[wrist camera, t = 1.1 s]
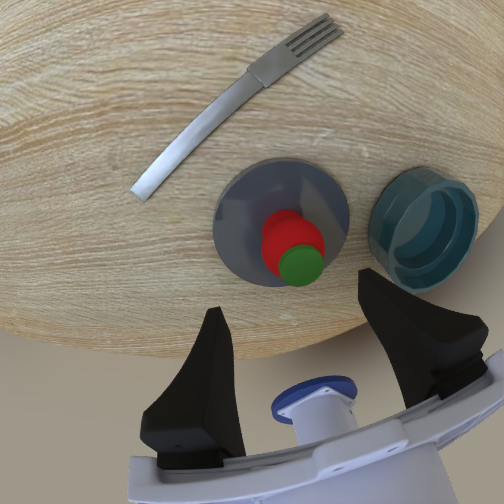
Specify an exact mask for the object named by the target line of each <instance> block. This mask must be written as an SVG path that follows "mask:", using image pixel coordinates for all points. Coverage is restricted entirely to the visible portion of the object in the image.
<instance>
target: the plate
mask: <svg viewBox="0 0 504 504" xmlns="http://www.w3.org/2000/svg"><path fill="white" fill-rule="evenodd" d="M281 210H292V211H295V212H297V213H299V214H300V215H301V216H302V217H303V218H304V219H306V220H308V221H310V222H311V223H313V224H314V225H315V226H316V227H317V228H318V230H319V231H320V233H321V234H322V236H323V239H324V244H325V254H324V258H323V260H324V267H323V270H324V269H325V268H326V267H327V266H328V265H329V264H330V263H331V262H332V261H333V260H334V259H335V257H336V256H337V254H338V253H339V251H340V250H341V248H342V246H343V244H344V242H345V239H346V236H347V232H348V227H349V210H348V205H347V201H346V198H345V196H344V194H343V191H342V190H341V188H340V187H339V185H338V184H337V183H336V182H335V180H334V179H333V178H332V177H331V176H329V175H328V174H327V173H326V172H324V171H323V170H322V169H320V168H319V167H317V166H315V165H313V164H311V163H309V162H306V161H303V160H299V159H294V158H275V159H269V160H265V161H262V162H259V163H256V164H254V165H252V166H250V167H248V168H246V169H245V170H243V171H242V172H240V173H239V174H238V175H237V176H235V177H234V178H233V179H232V180H231V181H230V183H229V184H228V185H227V186H226V188H225V189H224V190H223V192H222V194H221V196H220V197H219V199H218V202H217V205H216V207H215V211H214V216H213V238H214V243H215V247H216V249H217V252H218V254H219V256H220V258H221V259H222V261H223V262H224V264H225V265H226V266H227V267H228V268H229V269H230V270H231V271H232V272H233V273H234V274H236V275H237V276H238V277H240V278H242V279H244V280H246V281H248V282H250V283H253V284H256V285H261V286H267V287H283V286H289V284H287V283H285V282H284V281H283V279H282V278H279V277H277V276H276V275H274V274H273V273H272V272H271V271H270V270H269V269H268V268H267V266H266V265H265V263H264V260H263V257H262V252H261V246H262V240H263V236H262V229H263V225H264V223H265V221H266V220H267V219H268V218H269V217H270V216H271V215H272V214H274V213H275V212H278V211H281Z"/></svg>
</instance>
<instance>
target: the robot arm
mask: <svg viewBox="0 0 504 504" xmlns="http://www.w3.org/2000/svg"><path fill="white" fill-rule="evenodd" d="M358 301H359V304H360V306H361V308H362V311H363V313H364V315H365V317H366V319H367V320H368V322H369V324H370V325H371V327H372V329H373V330H374V332H375V333H376V335H377V337H378V339H379V340H380V342H381V344H382V345H383V347H384V349H385V351H386V353H387V355H388V357H389V360H390V362H391V364H392V367H393V370H394V372H395V375H396V378H397V380H398V383H399V386H400V389H401V392H402V395H403V399H404V402H405V406H406V410H404V411H402V412H400V413H397V414H395V415H393V416H390V417H388V418H385V419H383V420H380V421H378V422H375V423H373V424H370V425H368V426H365V427H362V428H359V426H358V424H357V421H356V418H355V415H354V413H353V410H352V407H351V406H353V405H355V404H356V401H355V400H353V399H352V398H350V397H348V396H346V395H344V394H342V393H340V392H338V391H337V390H335V389H333V388H331V387H329V386H327V385H325V386H323V387H321V388H319V389H317V390H316V391H314V392H312V393H310V394H308V395H307V396H305V397H303V398H301V399H299V400H297V401H295V402H293V403H292V404H290V405H288V406H286V407H284V408H282V409H280V410H278V411H277V413H278V414H279V415H281V416H284V417H287V418H290V419H292V421H293V426H294V430H295V434H296V439H297V443H298V447H293V448H289V449H284V450H279V451H274V452H268V453H263V454H257V455H251V456H246V452H245V448H244V443H243V439H242V433H241V428H240V423H239V417H238V411H237V405H236V398H235V388H234V354H233V345H232V338H231V333H230V330H229V328H228V325H227V323H226V320H225V318H224V315H223V313H222V310H221V308H220V306H219V307H215V308H210V309H208V310H207V312H206V315H205V318H204V321H203V324H202V326H201V329H200V332H199V334H198V336H197V339H196V341H195V343H194V345H193V347H192V349H191V351H190V354H189V356H188V357H187V359H186V361H185V363H184V364H183V366H182V368H181V369H180V371H179V373H178V374H177V375H176V377H175V378H174V380H173V381H172V382H171V384H170V385H169V386H168V387H167V389H166V390H165V391H164V392H163V393H162V395H161V396H160V397H159V398H158V399H157V400H156V401H155V402H154V403H153V404H152V405H151V406H150V407H149V408H148V409H147V410H145V411H144V413H143V417H142V421H141V431H140V439H141V440H142V442H144V443H145V444H146V445H147V446H149V447H150V448H152V449H153V450H155V451H156V452H157V458H155V457H147V456H131V457H130V462H129V475H128V493H127V500H128V501H130V502H133V503H136V504H459V503H458V501H457V498H456V495H455V492H454V490H453V487H452V485H451V482H450V480H449V477H448V475H447V472H446V470H445V467H444V465H443V462H442V460H441V458H440V456H439V453H438V451H439V450H441V449H443V448H444V447H446V446H447V445H449V444H450V443H452V442H454V441H455V440H457V439H458V438H460V437H461V436H463V435H464V434H466V433H467V432H468V431H470V430H471V429H473V428H474V427H476V426H477V425H478V424H480V423H481V422H482V421H484V420H485V419H486V418H488V417H489V416H490V415H491V414H493V413H494V412H495V411H496V410H498V409H499V408H500V407H501V406H503V405H504V351H503V350H502V349H500V350H499V351H497V352H496V353H494V354H493V355H491V356H490V357H489V358H488V359H486V360H485V362H484V361H483V359H482V357H483V353H482V352H481V351H480V349H481V348H482V346H483V344H484V342H485V340H486V338H487V336H488V331H489V329H488V327H487V326H486V324H485V323H484V322H483V321H482V320H481V318H480V317H479V316H474V315H468V314H463V313H459V312H455V311H451V310H448V309H445V308H442V307H439V306H436V305H433V304H431V303H429V302H427V301H424V300H422V299H420V298H418V297H416V296H414V295H412V294H410V293H409V292H407V291H405V290H403V289H402V288H400V287H398V286H397V285H395V284H394V283H392V282H390V281H389V280H387V279H386V278H384V277H383V276H381V275H380V274H378V273H377V272H375V271H374V270H372V269H370V268H366V269H363V270H359V274H358Z"/></svg>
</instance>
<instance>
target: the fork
mask: <svg viewBox="0 0 504 504" xmlns="http://www.w3.org/2000/svg"><path fill="white" fill-rule="evenodd" d="M328 16H329V14H328V13H325V14H323V15H322V16H320V17H318V18H317V19H315V20H314V21H312V22H311V23H309V24H307V25H306V26H304V27H303V28H301V29H300V30H298V31H297V32H295V33H294V34H292V35H291V36H289V37H288V38H287V39H285V40H284V41H282V42H281V43H280V44H278V45H277V46H275V47H274V48H273V49H271V50H270V51H269V52H267V53H266V54H265V55H263V56H262V57H261V58H259V59H258V60H257V61H256V62H254V63H253V64H252V65H250V66H249V67H248V68H247V69H246V70H247V71H248V72H247V73H245V74H244V75H243V76H242V77H241V78H239V79H238V80H237V81H236V82H235V83H234V84H232V85H231V86H230V87H229V88H228V89H227V90H225V91H224V92H223V93H222V94H221V95H220V96H219V97H218V98H216V99H215V100H214V101H213V102H212V103H211V104H210V105H209V106H208V107H207V108H206V109H204V110H203V111H202V112H201V113H200V114H199V115H198V116H197V117H196V118H195V119H194V120H193V121H192V122H191V123H190V124H189V125H188V126H187V127H186V128H185V129H184V130H183V131H182V132H181V133H180V134H179V135H178V136H177V137H176V138H175V139H174V140H173V141H172V142H171V143H170V144H169V145H168V146H167V148H166V149H165V150H164V151H163V152H162V153H161V154H160V155H159V156H158V157H157V158H156V159H155V161H154V162H153V163H152V164H151V165H150V166H149V167H148V168H147V170H146V171H145V172H144V173H143V174H142V175H141V177H140V178H139V179H138V180H137V181H136V182H135V184H134V185H133V186H132V187H131V188H130V191H131V192H132V193H134V194H135V195H136V196H137V197H138V198H139V199H141V200H142V201H143V202H145V201H146V200H147V199H148V198H149V197H150V196H151V194H152V193H153V192H154V191H155V190H156V189H157V188H158V187H159V185H160V184H161V183H162V182H163V181H164V180H165V179H166V178H167V177H168V176H169V175H170V174H171V173H172V171H173V170H174V169H175V168H176V167H177V166H178V165H179V164H180V163H181V162H182V161H183V160H184V159H185V158H186V157H187V156H188V155H189V154H190V153H191V152H192V151H193V150H194V149H195V148H196V147H197V146H198V145H199V144H200V143H201V142H202V141H203V140H204V139H205V138H206V137H207V136H208V135H209V134H210V133H211V132H213V131H214V130H215V129H216V128H217V127H218V126H219V125H220V124H221V123H222V122H223V121H224V120H226V119H227V118H228V117H229V116H230V115H231V114H232V113H233V112H234V111H236V110H237V109H238V108H239V107H240V106H241V105H242V104H244V103H245V102H246V101H247V100H248V99H249V98H251V97H252V96H253V95H254V94H255V93H257V92H258V91H259V90H260V89H261V88H263V87H264V88H268V87H269V86H270V85H271V84H273V83H274V82H275V81H276V80H278V79H279V78H280V77H281V76H283V75H284V74H285V73H287V72H288V71H289V70H290V69H292V68H293V67H294V66H296V65H297V64H298V63H300V62H301V61H303V60H304V59H305V58H307V57H308V56H310V55H311V54H312V53H314V52H315V51H317V50H318V49H319V48H321V47H322V46H324V45H325V44H327V43H328V42H330V41H331V40H333V39H334V38H336V37H337V36H339V35H340V34H342V33H344V32H343V30H342V29H340V30H338V31H336V32H335V33H333V34H332V35H330V36H329V37H327V38H326V39H324V40H323V41H321V42H320V43H318V44H317V45H315V46H314V47H312V48H311V49H310V50H308V51H307V52H305V53H304V54H303V55H301V56H300V57H298V58H297V55H298V54H299V53H301V52H302V51H304V50H305V49H306V48H308V47H309V46H311V45H312V44H314V43H315V42H317V41H318V40H319V39H321V38H322V37H324V36H325V35H327V34H329V33H330V32H332V31H333V30H335V29H336V28H338V27H339V26H338V25H337V24H334V25H333V26H331V27H329V28H328V29H326V30H325V31H323V32H322V33H320V34H319V35H317V36H316V37H314V38H313V39H311V40H310V41H308V42H307V43H305V44H304V45H302V46H301V47H300V48H298V49H297V50H295V51H294V52H292V51H291V50H292V49H293V48H295V47H296V46H298V45H299V44H300V43H302V42H303V41H305V40H306V39H308V38H309V37H311V36H312V35H314V34H315V33H317V32H318V31H320V30H321V29H323V28H324V27H326V26H328V25H329V24H331V23H332V22H334V20H333V19H332V18H331V19H329V20H327V21H326V22H324V23H322V24H321V25H319V26H318V27H316V28H315V29H313V30H312V31H310V32H309V33H307V34H306V35H304V36H303V37H301V38H300V39H298V40H297V41H295V42H294V43H292V44H291V45H290V46H288V47H287V46H286V44H287V43H289V42H290V41H292V40H293V39H295V38H296V37H297V36H299V35H300V34H302V33H303V32H305V31H306V30H308V29H309V28H311V27H312V26H314V25H316V24H317V23H319V22H320V21H322V20H324V19H325V18H327V17H328Z"/></svg>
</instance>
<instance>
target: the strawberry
mask: <svg viewBox="0 0 504 504" xmlns="http://www.w3.org/2000/svg"><path fill="white" fill-rule="evenodd" d="M262 236H263V240H262V246H261V252H262V257H263V260H264V263H265V265H266V266H267V268H268V269H269V270H270V271H271V272H272V273H273V274H274V275H276V276H277V277H279V278H282V279H283V281H284V282H285V283H287V284H289V285H291V286H296V287H300V286H305V285H308V284H310V283H312V282H314V281H315V280H316V279H317V278H318V277H319V276H320V275H321V273H322V271H323V267H324V260H323V258H324V254H325V244H324V239H323V236H322V234H321V233H320V231H319V230H318V228H317V227H316V226H315V225H314V224H313V223H311V222H310V221H308V220H306V219H304V218H303V217H302V216H301V215H300V214H299V213H297V212H295V211H292V210H281V211H278V212H275V213H274V214H272V215H271V216H270V217H269V218H268V219H267V220H266V221H265V223H264V225H263V229H262Z"/></svg>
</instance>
